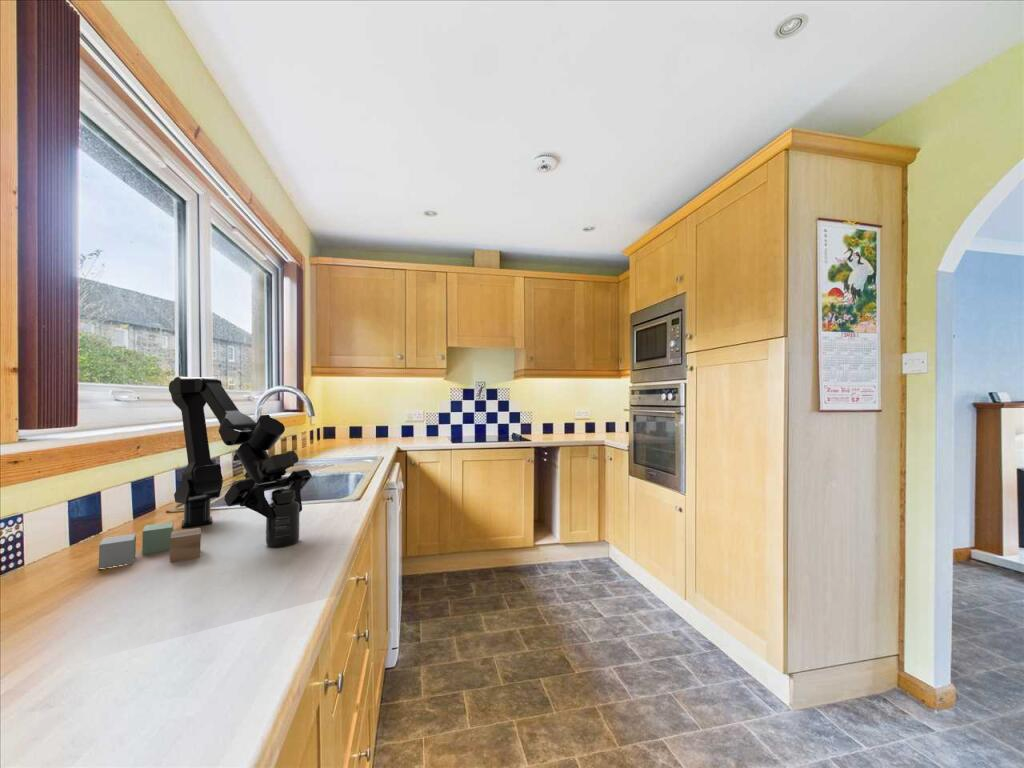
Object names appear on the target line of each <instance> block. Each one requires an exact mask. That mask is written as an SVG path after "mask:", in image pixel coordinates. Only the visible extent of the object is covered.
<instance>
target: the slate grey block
mask: <svg viewBox="0 0 1024 768" xmlns="http://www.w3.org/2000/svg"><path fill="white" fill-rule="evenodd" d="M136 543H137V533H129V534H121V535H116V536H108V537H103V538H102V540H101V541H100V543H99V545H98V546H99V547H98V569H99V568H107V567H113V566H119V565H125V564H133V565H134V562H135V559H136V554H137V553H136V552H137V551H136V548H137V547H136V546H137V544H136ZM133 561H134V562H133Z"/></svg>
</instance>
